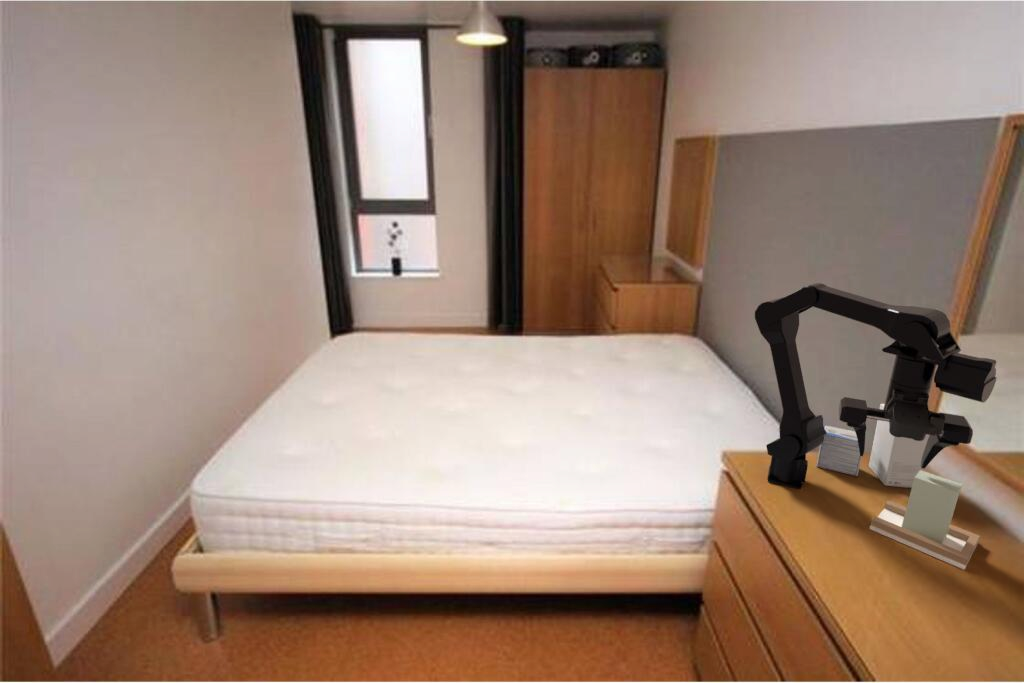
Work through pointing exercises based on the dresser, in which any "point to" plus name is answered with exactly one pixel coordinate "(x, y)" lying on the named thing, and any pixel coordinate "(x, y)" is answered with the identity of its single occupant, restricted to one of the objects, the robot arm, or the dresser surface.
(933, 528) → the door panel
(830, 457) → the medicine box
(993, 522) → the dresser surface
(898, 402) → the robot arm
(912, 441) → the skincare box
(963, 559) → the track
